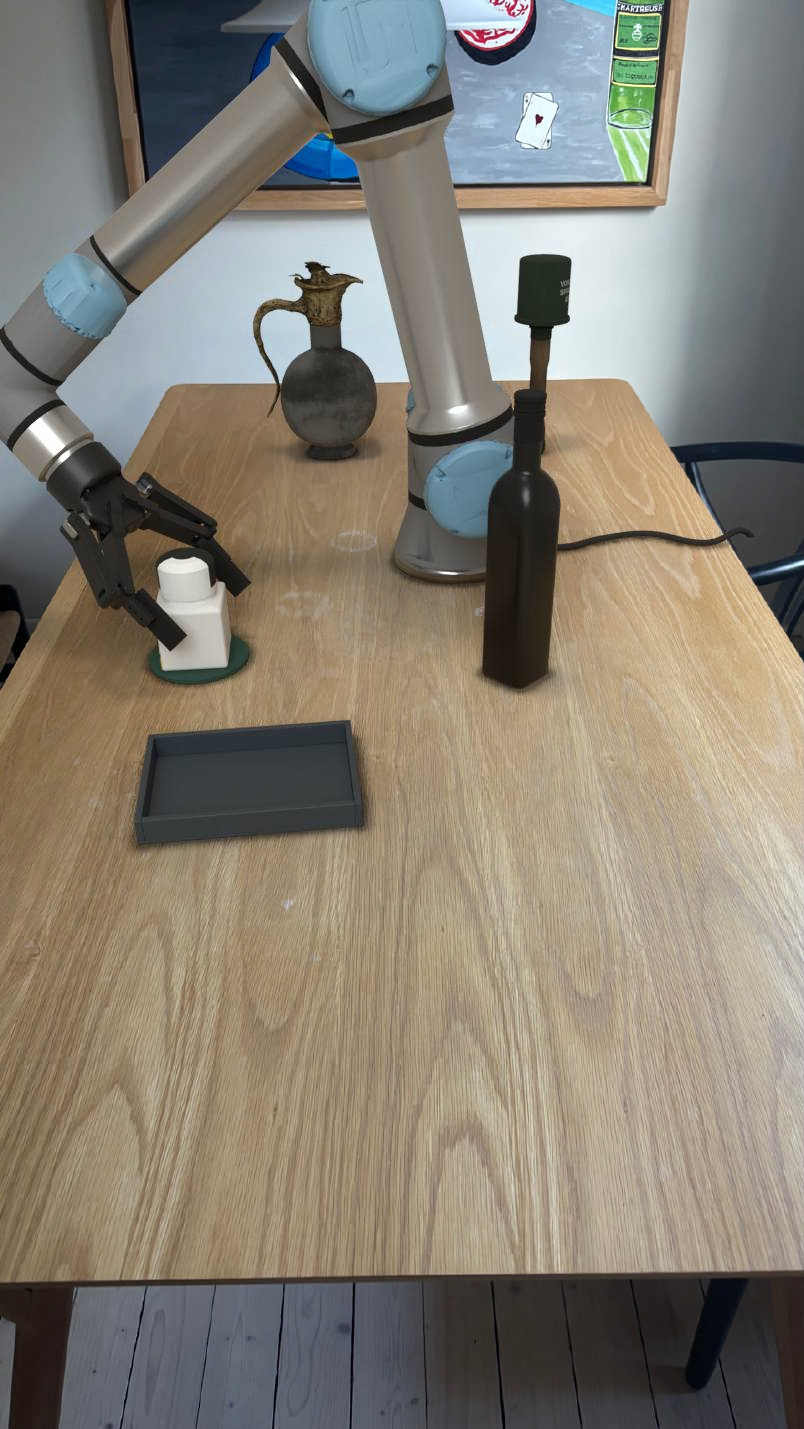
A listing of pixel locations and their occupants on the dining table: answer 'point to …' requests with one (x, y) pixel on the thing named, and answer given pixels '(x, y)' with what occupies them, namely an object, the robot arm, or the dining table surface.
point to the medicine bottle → (193, 610)
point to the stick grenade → (542, 308)
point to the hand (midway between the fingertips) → (212, 616)
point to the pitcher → (322, 370)
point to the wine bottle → (521, 555)
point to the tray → (248, 782)
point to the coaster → (235, 663)
